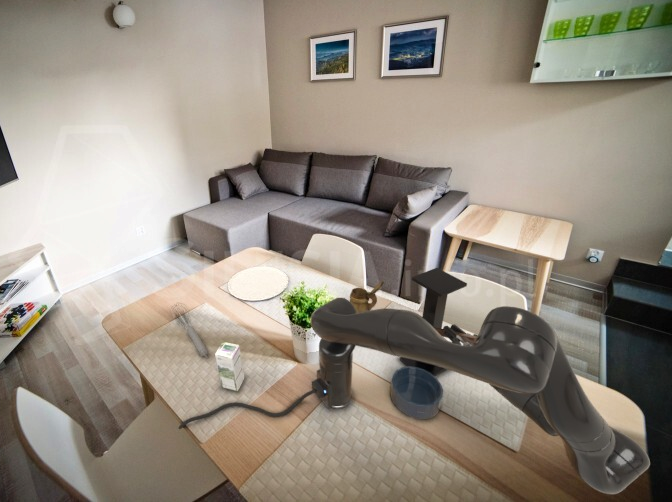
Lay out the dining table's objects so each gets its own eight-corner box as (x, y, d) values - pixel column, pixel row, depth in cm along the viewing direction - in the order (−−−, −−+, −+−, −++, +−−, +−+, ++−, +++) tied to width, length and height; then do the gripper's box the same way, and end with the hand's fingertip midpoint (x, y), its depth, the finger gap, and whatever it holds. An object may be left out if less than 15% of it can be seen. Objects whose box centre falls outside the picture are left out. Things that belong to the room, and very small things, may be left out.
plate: (237, 309, 139) (237, 307, 138) (221, 277, 164) (221, 275, 163) (299, 291, 148) (298, 288, 147) (275, 262, 173) (274, 260, 172)
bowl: (415, 429, 86) (417, 413, 84) (380, 391, 97) (381, 377, 95) (450, 408, 91) (454, 392, 88) (413, 374, 102) (415, 360, 100)
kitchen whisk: (199, 364, 113) (196, 350, 110) (170, 315, 139) (167, 302, 137) (215, 356, 116) (212, 342, 113) (184, 309, 142) (181, 297, 140)
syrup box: (245, 377, 106) (239, 343, 100) (237, 392, 101) (231, 357, 95) (229, 373, 108) (223, 340, 102) (221, 388, 103) (214, 354, 97)
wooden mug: (378, 329, 121) (381, 289, 114) (343, 318, 128) (344, 279, 121) (384, 315, 128) (387, 276, 121) (351, 306, 135) (352, 268, 127)
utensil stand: (424, 382, 99) (438, 295, 86) (399, 360, 108) (409, 277, 94) (452, 367, 103) (469, 282, 90) (426, 347, 112) (439, 266, 98)
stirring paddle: (472, 344, 76) (471, 338, 76) (394, 325, 98) (394, 321, 98) (482, 342, 77) (481, 336, 77) (403, 324, 99) (403, 319, 99)
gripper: (541, 363, 71) (471, 313, 85) (501, 375, 65) (433, 318, 79) (524, 388, 74) (459, 335, 88) (484, 401, 68) (422, 342, 82)
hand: (447, 327), depth 84 cm, fingers closed on stirring paddle
